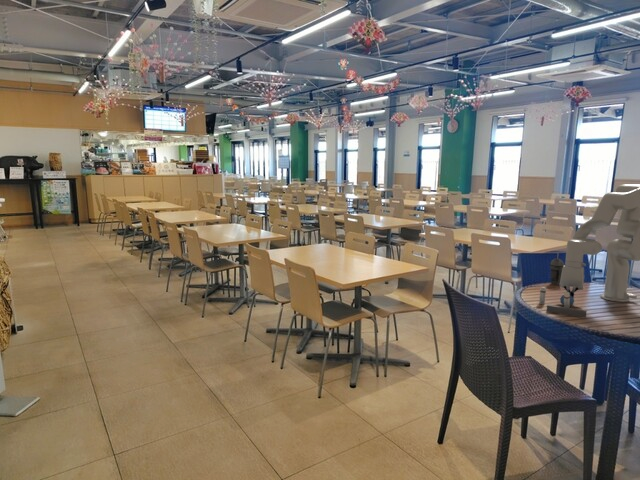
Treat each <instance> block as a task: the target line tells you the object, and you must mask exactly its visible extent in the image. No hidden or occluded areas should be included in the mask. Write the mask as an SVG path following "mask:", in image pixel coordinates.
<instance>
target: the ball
mask: <svg viewBox="0 0 640 480" xmlns="http://www.w3.org/2000/svg"><path fill="white" fill-rule="evenodd" d="M574 298H575V297H574ZM574 298H573V297H572V296H571V295H570V307H571V306H572V305H574V303H575V299H574ZM559 299H560V304H561V305H563V306H564V294H563V295H561V296H560V298H559Z"/></svg>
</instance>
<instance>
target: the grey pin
mask: <svg viewBox="0 0 640 480" xmlns="http://www.w3.org/2000/svg"><path fill="white" fill-rule="evenodd" d="M546 290H547V287H545V286H541V287H540V291H539V302H538V304H539V305H541V304H543V305H545V303H546V294H547V293H546ZM543 305H542V306H543Z"/></svg>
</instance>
